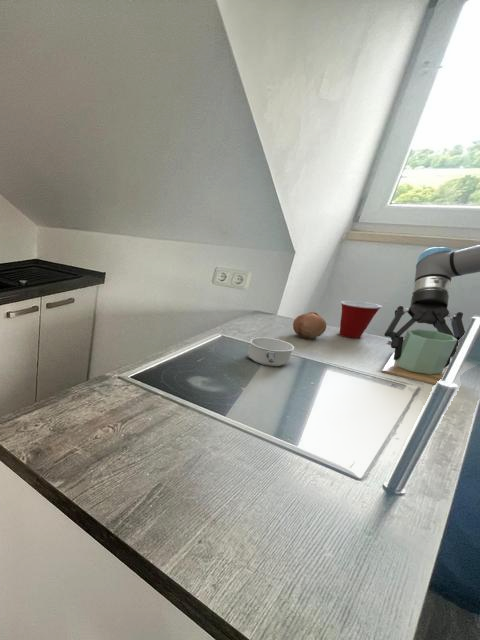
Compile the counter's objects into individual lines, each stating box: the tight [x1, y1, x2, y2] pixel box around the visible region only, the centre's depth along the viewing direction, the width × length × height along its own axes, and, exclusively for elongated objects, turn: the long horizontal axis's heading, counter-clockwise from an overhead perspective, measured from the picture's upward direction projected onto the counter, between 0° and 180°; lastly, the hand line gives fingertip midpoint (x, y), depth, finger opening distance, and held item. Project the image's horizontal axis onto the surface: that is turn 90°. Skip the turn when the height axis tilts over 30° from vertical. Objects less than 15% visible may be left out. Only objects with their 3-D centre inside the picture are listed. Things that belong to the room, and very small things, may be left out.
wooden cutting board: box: [381, 351, 449, 386], centre depth 113 cm, size 20×12×1 cm, turn 130°
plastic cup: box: [339, 300, 383, 339], centre depth 136 cm, size 11×11×12 cm
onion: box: [292, 311, 327, 340], centre depth 137 cm, size 10×9×10 cm
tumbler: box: [395, 328, 457, 375], centre depth 110 cm, size 10×9×9 cm
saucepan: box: [247, 337, 295, 367], centre depth 117 cm, size 12×20×6 cm, turn 147°
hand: (420, 361), depth 111 cm, fingers closed on tumbler, 9 cm apart
